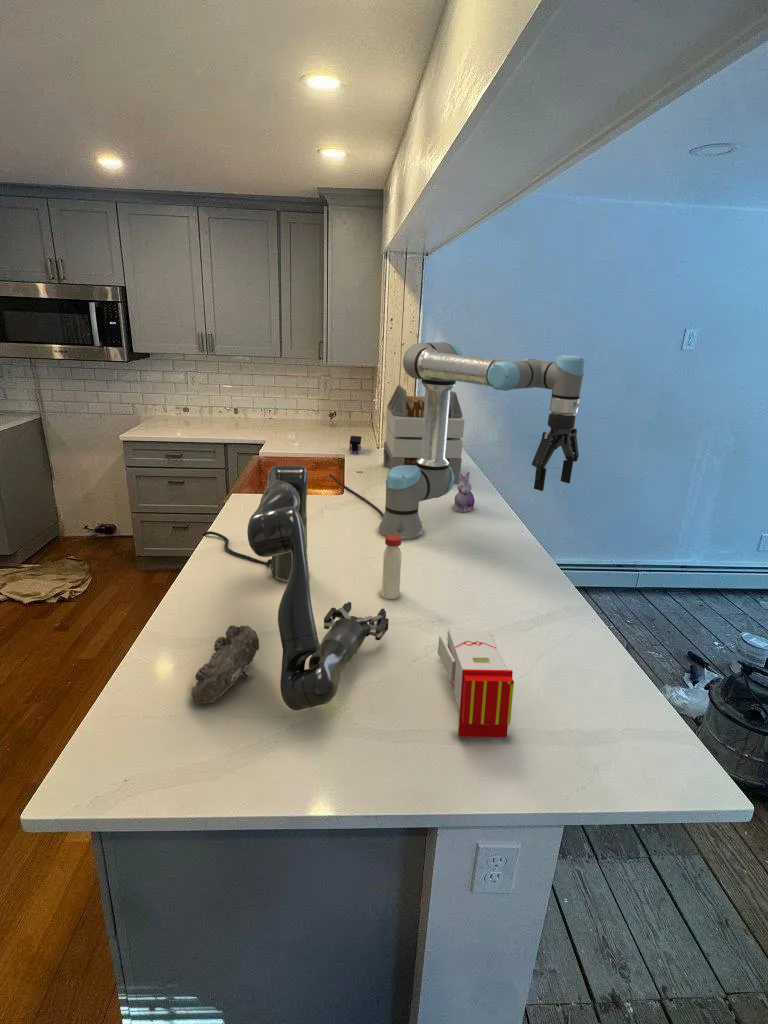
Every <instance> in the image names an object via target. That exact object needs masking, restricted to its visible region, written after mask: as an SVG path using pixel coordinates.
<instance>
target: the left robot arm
mask: <svg viewBox="0 0 768 1024" xmlns="http://www.w3.org/2000/svg"><path fill="white" fill-rule="evenodd" d="M308 485H309V476H308V470H307V468H306V466H304V465H301V464H276V465H273V466H271V468H270V469H269V471H268V473H267V479H266V486H265V489H264V491H263V493H262V495H261V498H260V500H259V501H260V502H259V505H258V507H257V508H256V510H255V511H254V512H253V513H252V515H251V516H250V517H249V520H248V522H247V532H246V533H247V540H248V544H249V547H250V549H251V551H252V552H253V553H254V554H255V555H256V556H258V557H260V558H269V559H267V560H266V561H263V560H261V559H257V558H254V557H253V556H252V557H251V556H250V555H246V554H244V553H240V552H237V551H234V550H232V549H231V548H229V546H228V545H229V538H228V537H226V536H225V535H223V534H222V533H219V532H216V531H211V530H209V531H208V530H207V531H205V532H203V534H202V535H201V536H202V537H205V536H207V535H213V536H216V537H219V538H221V539H222V540H224V541H225V542H224V550H225V551H226V552H227V553H229V554H231V555H233V556H237V557H239V558H243V559H245V560H249V561H251V562H254V563H257V564H261V565H265V566H270V569H271V577H272V578H275V579H276V580H277V581H279V582H282V583H286V586H285V589H284V591H283V594H282V596H281V599H280V601H279V605H278V609H277V626H278V631H279V636H280V637H279V638H280V642H281V648H282V656H281V669H280V684H279V687H280V695H281V698H282V700H283V703H284V704H285V706H286V707H287V708H289V709H290V710H292V711H302V710H307V709H311V708H315V707H321V706H323V705H326V704H328V703H330V702H331V701H333V700H334V698H335V697H336V695H337V693H338V690H339V685H340V680H341V675H342V673H343V671H344V670H345V668H346V667H347V665H348V664H349V663H350V662H351V661H352V660H353V658H354V657H355V656H356V654H357V652H358V651H359V649H360V648H361V646H362V645H363V643H364V641H365V639H366V638H368V637H369V636H371V637H374V639H375V641H381V639H382V638H383V637H384V636H385V634H386V633H387V632H388V630H389V622H390V620H389V618H387V611H386V609H385V608H381V609H380V610H379V612H378V613H377V615H376V616H375V615H374V616H372V615H369V616H366V617H359V616H358V617H357V616H354V615H349V613H350V612H351V610H352V602H351V601H347V602H345V603H344V604H343V605H342V606H341V607H339V608H336V607H331V608H330V609H329V611H328V612H327V613H326V615H325V616H324V617H323V629H324V630H328V631H327V633H326V634H325V635H324V637H323V638H322V640H321V641H319V636H318V632H317V625H316V621H315V616H314V613H313V612H314V611H313V605H312V597H311V582H310V569H309V568H310V567H309V559H308V557H309V556H308V509H307V508H308V507H307V504H308V503H307V500H308ZM336 618H338V619H337V620H336ZM375 622H376V623H375ZM308 658H309V660H308V668H306V669H305V667H306V662H307V659H308Z"/></svg>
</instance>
